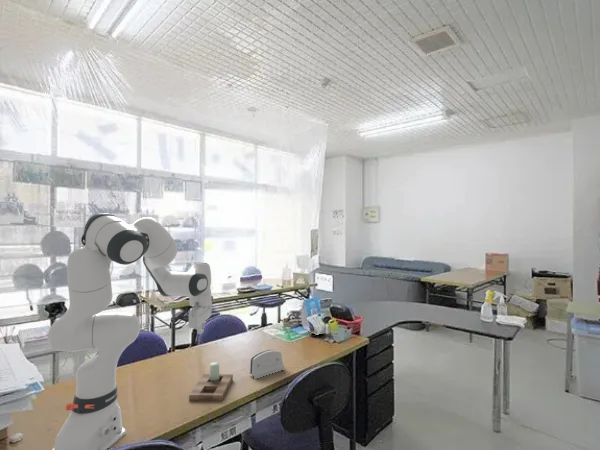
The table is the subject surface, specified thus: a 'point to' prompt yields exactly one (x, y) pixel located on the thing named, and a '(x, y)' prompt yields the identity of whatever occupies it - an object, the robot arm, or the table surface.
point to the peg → (214, 372)
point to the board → (211, 388)
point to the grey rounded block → (266, 363)
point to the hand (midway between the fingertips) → (200, 333)
